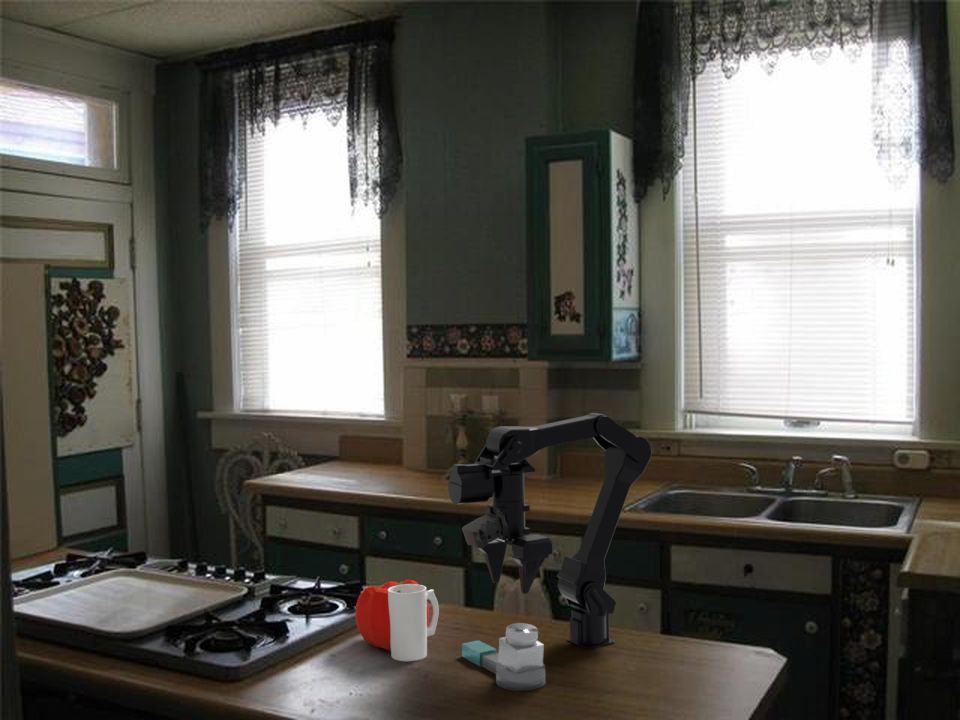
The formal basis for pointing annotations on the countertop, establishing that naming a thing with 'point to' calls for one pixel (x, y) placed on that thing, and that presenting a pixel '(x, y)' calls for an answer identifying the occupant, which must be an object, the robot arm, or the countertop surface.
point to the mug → (410, 621)
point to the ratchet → (502, 668)
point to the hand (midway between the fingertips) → (510, 587)
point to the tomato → (377, 614)
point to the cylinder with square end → (521, 648)
